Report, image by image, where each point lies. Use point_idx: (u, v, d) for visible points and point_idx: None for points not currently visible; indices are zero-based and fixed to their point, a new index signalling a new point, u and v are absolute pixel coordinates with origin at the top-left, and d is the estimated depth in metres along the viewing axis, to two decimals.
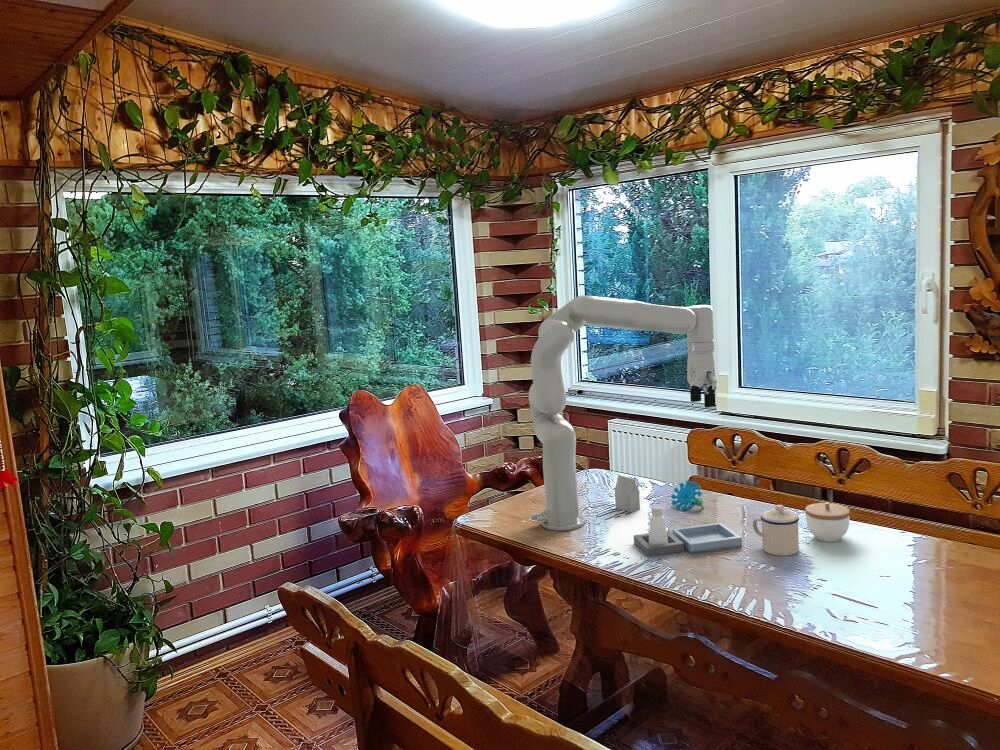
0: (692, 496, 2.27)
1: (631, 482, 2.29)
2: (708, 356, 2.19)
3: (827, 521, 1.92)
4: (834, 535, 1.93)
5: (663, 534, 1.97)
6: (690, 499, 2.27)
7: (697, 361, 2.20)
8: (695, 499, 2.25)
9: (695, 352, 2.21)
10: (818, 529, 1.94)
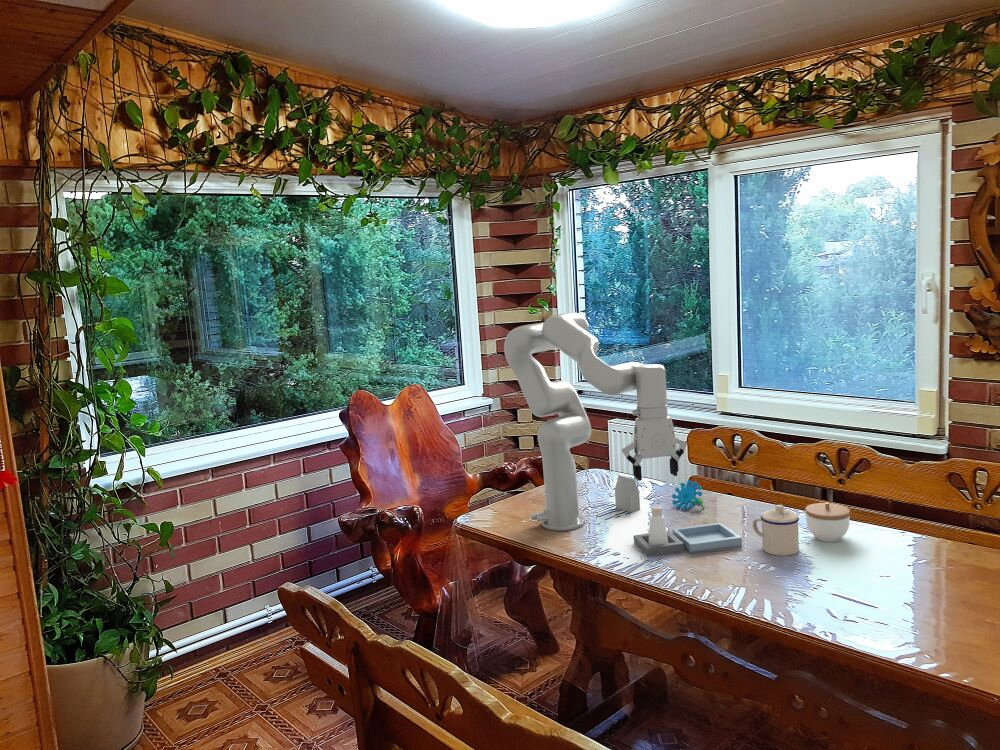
0: (692, 496, 2.27)
1: (631, 482, 2.29)
2: None
3: (827, 521, 1.92)
4: (834, 535, 1.93)
5: (663, 534, 1.97)
6: (690, 499, 2.27)
7: (668, 426, 1.93)
8: (695, 499, 2.26)
9: (665, 416, 1.92)
10: (818, 529, 1.94)
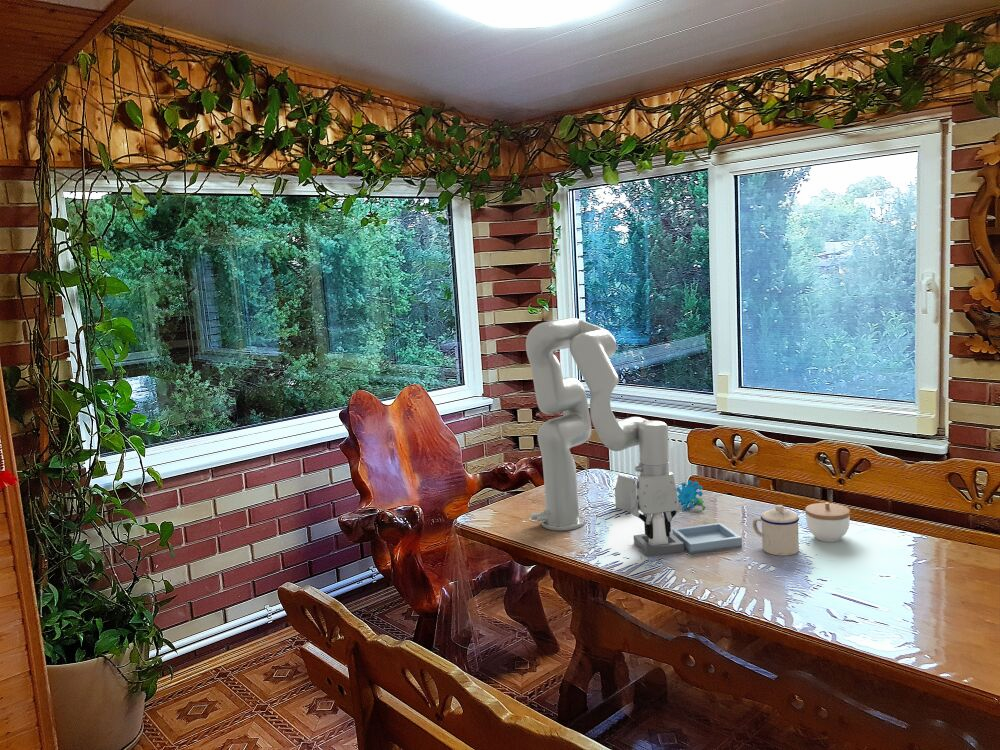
0: (693, 496, 2.27)
1: (631, 482, 2.29)
2: None
3: (827, 521, 1.92)
4: (834, 535, 1.93)
5: (663, 534, 1.97)
6: (691, 499, 2.27)
7: (670, 483, 1.95)
8: (696, 499, 2.26)
9: (667, 473, 1.95)
10: (818, 529, 1.94)
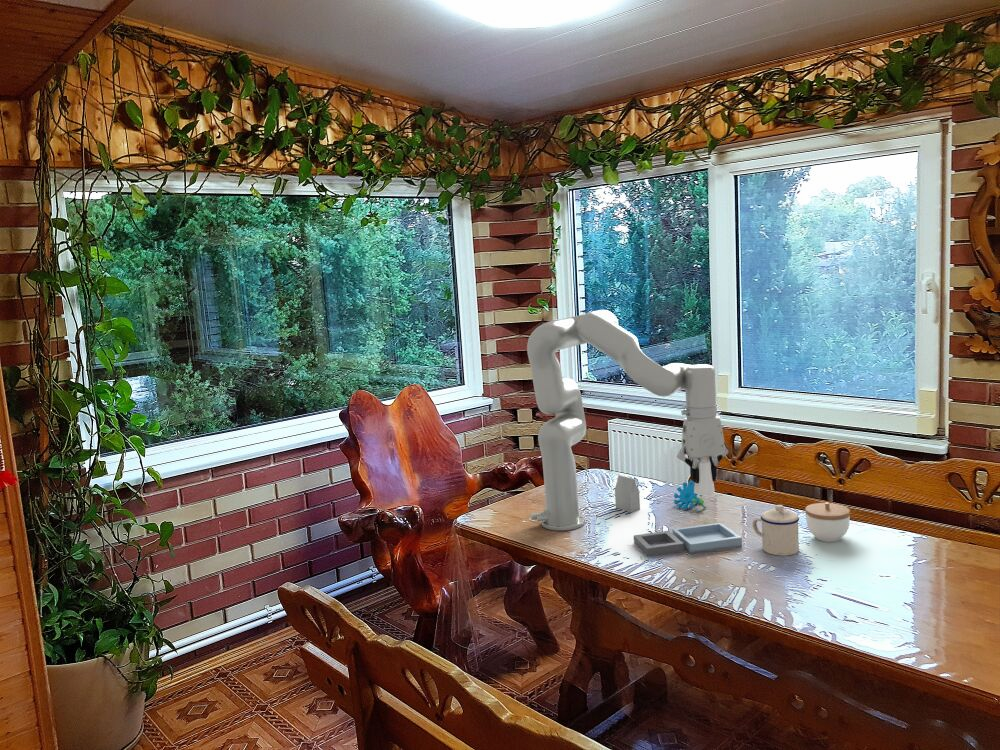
0: (694, 496, 2.27)
1: (631, 482, 2.29)
2: None
3: (827, 521, 1.92)
4: (834, 535, 1.93)
5: (710, 478, 1.97)
6: (691, 499, 2.27)
7: (717, 426, 1.94)
8: (696, 499, 2.26)
9: (714, 416, 1.94)
10: (818, 529, 1.94)
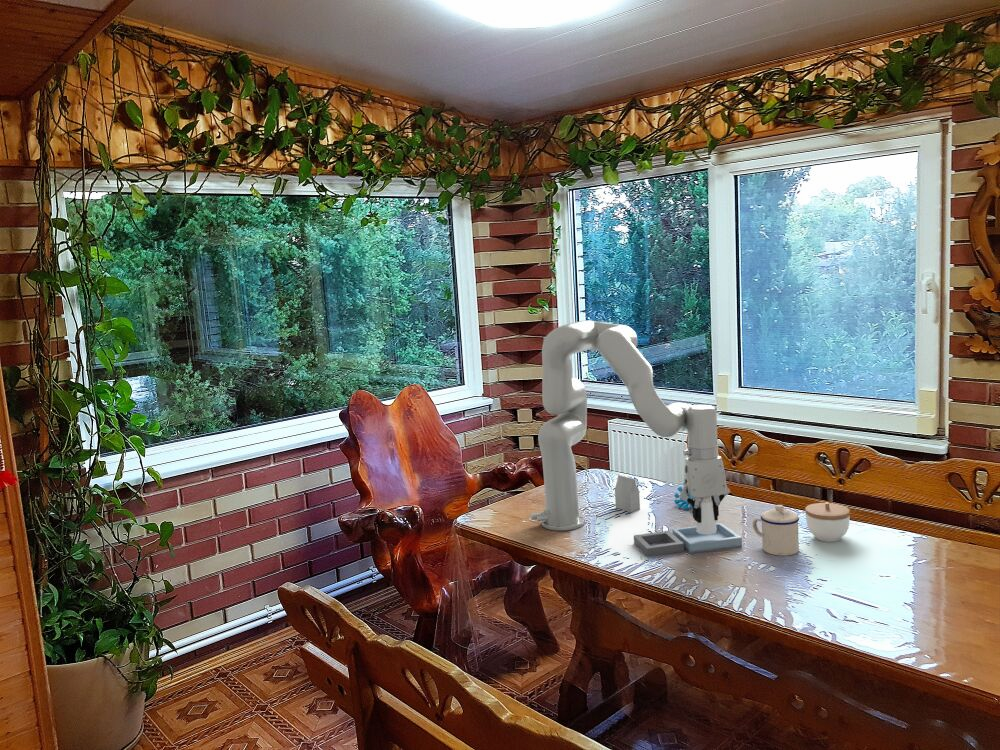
0: None
1: (631, 482, 2.29)
2: None
3: (827, 521, 1.92)
4: (834, 535, 1.93)
5: (712, 518, 1.98)
6: None
7: (719, 467, 1.96)
8: None
9: (716, 457, 1.95)
10: (818, 529, 1.94)
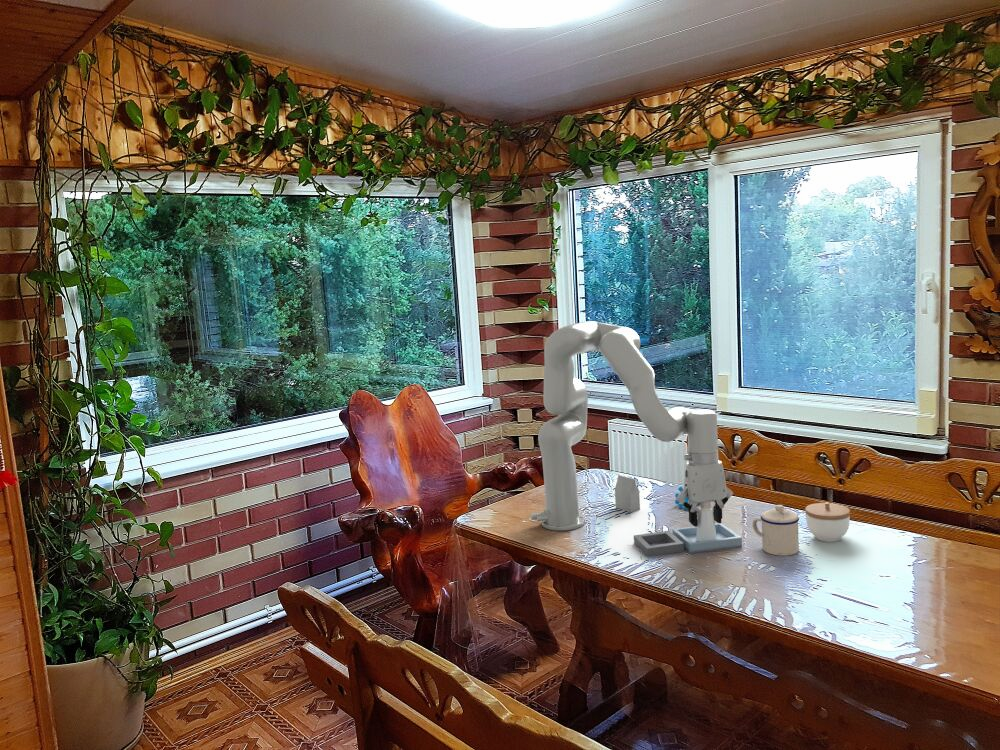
0: None
1: (631, 482, 2.29)
2: None
3: (827, 521, 1.92)
4: (834, 535, 1.93)
5: (712, 526, 1.99)
6: None
7: (719, 471, 1.96)
8: None
9: (716, 462, 1.95)
10: (818, 529, 1.94)
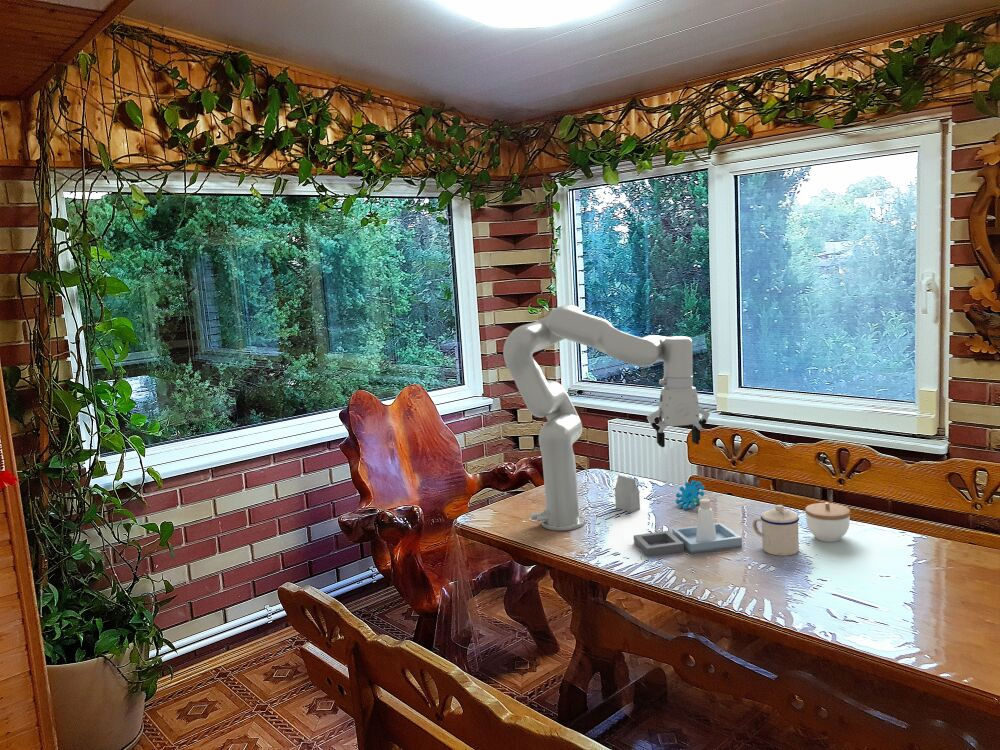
0: (695, 496, 2.27)
1: (631, 482, 2.29)
2: None
3: (827, 521, 1.92)
4: (834, 535, 1.93)
5: (712, 527, 1.99)
6: (692, 498, 2.27)
7: (693, 396, 2.02)
8: (697, 499, 2.26)
9: (690, 387, 2.01)
10: (818, 529, 1.94)
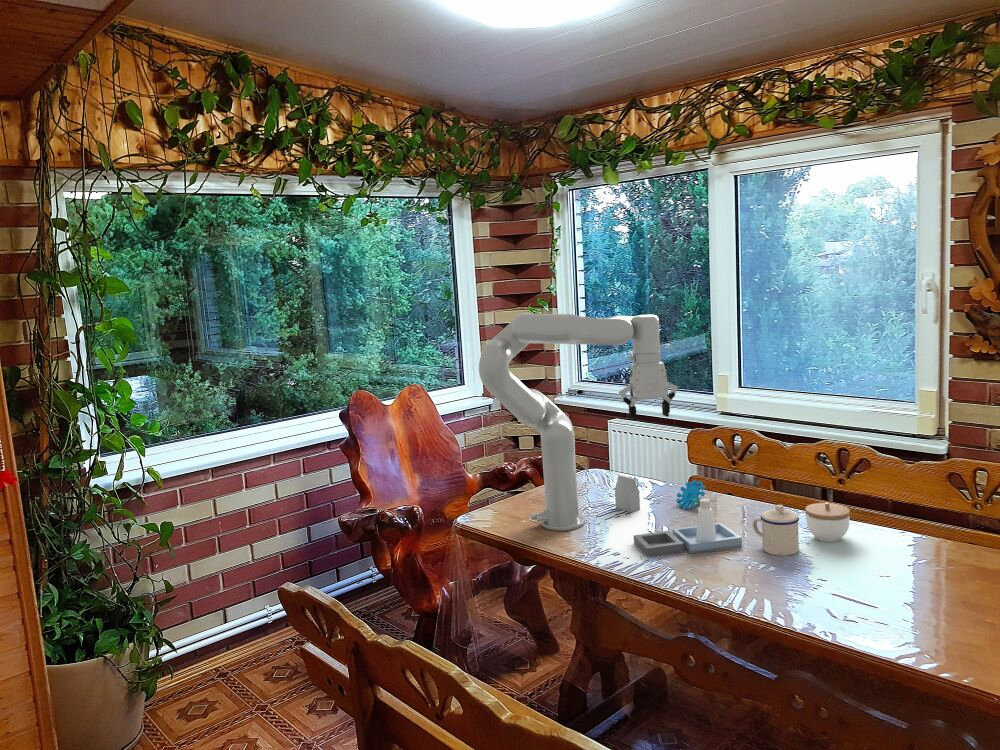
0: (695, 496, 2.27)
1: (631, 482, 2.29)
2: None
3: (827, 521, 1.92)
4: (834, 535, 1.93)
5: (712, 527, 1.99)
6: (693, 498, 2.27)
7: (661, 371, 2.13)
8: (697, 499, 2.26)
9: (658, 362, 2.12)
10: (818, 529, 1.94)
